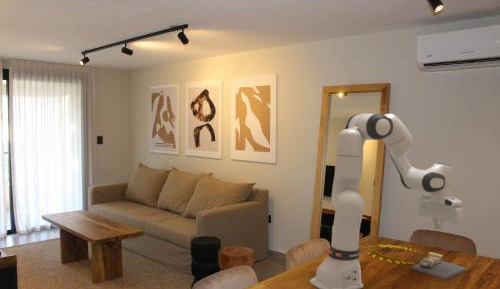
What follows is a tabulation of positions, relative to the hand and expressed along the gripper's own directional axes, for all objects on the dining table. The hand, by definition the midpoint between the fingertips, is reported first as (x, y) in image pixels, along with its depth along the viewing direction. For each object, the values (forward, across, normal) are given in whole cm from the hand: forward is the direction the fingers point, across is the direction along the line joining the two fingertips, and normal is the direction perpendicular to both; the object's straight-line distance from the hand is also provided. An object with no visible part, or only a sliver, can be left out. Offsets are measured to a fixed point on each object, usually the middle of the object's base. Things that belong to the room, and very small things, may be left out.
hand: (438, 228), depth 177 cm
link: (+18, -4, +3) cm, 19 cm away
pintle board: (+20, 0, +3) cm, 20 cm away
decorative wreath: (+20, -28, +3) cm, 35 cm away
